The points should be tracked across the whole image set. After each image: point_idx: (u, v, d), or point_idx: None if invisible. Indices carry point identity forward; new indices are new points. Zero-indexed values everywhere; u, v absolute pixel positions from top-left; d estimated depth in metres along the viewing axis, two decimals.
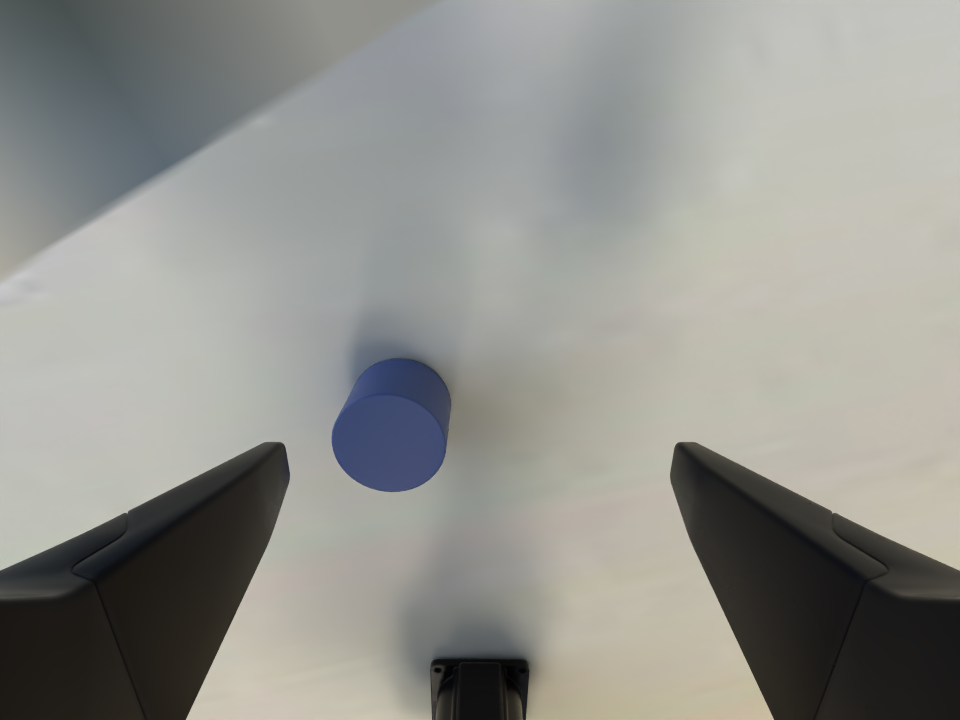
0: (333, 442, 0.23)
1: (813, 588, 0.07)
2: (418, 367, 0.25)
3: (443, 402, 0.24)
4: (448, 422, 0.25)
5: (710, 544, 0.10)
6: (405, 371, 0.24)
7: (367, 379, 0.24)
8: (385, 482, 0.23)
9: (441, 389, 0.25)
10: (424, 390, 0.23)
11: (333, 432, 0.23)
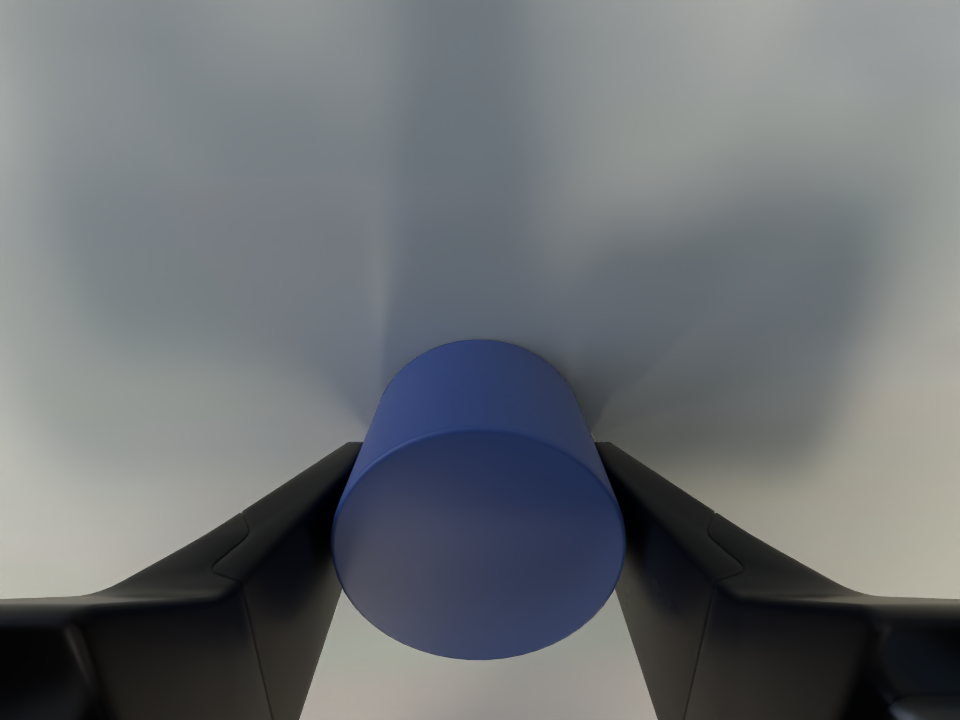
0: (336, 530, 0.09)
1: (681, 588, 0.07)
2: (545, 368, 0.11)
3: None
4: None
5: None
6: (527, 372, 0.10)
7: (438, 377, 0.10)
8: (444, 637, 0.09)
9: None
10: (579, 428, 0.09)
11: (341, 506, 0.08)
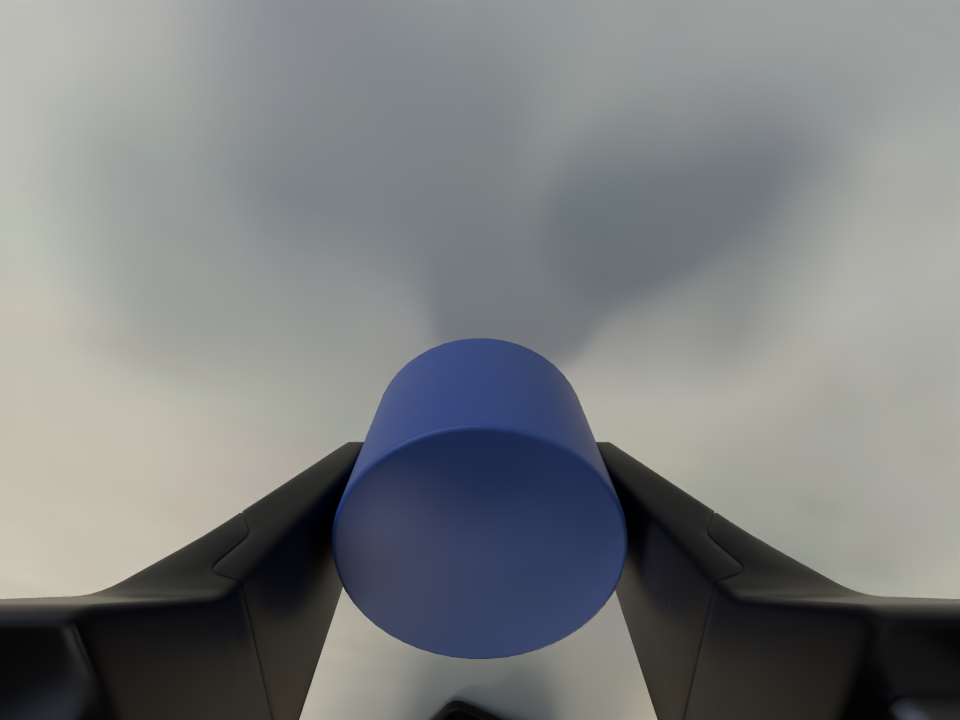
0: (337, 528, 0.09)
1: (680, 588, 0.07)
2: (546, 366, 0.11)
3: None
4: None
5: None
6: (528, 371, 0.10)
7: (439, 376, 0.10)
8: (445, 636, 0.09)
9: None
10: (581, 426, 0.09)
11: (343, 504, 0.08)
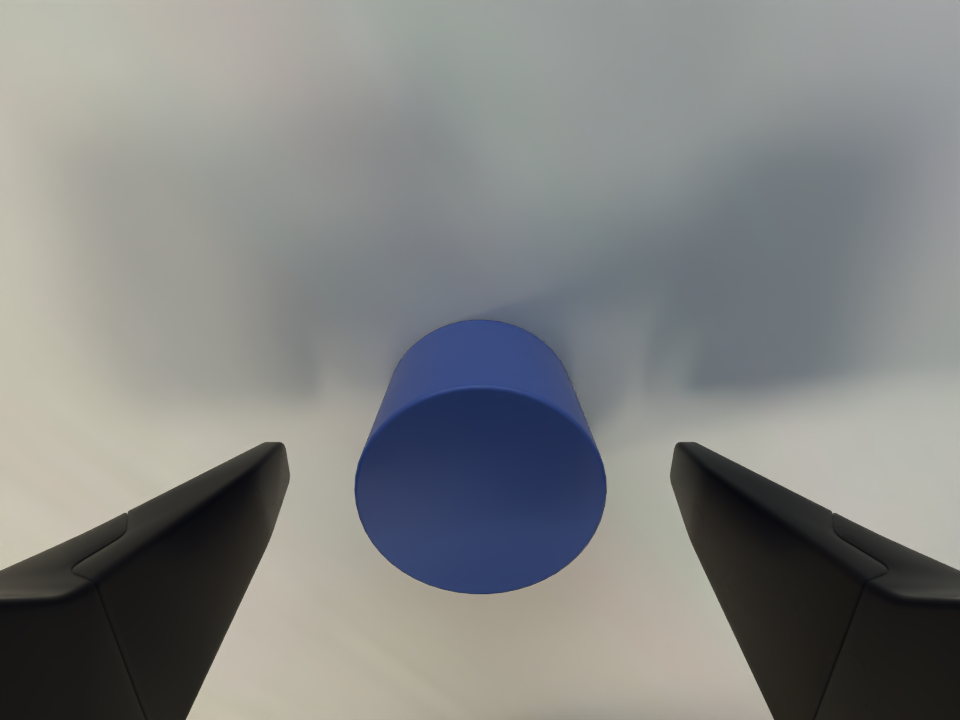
0: (359, 476, 0.10)
1: (813, 588, 0.07)
2: (538, 344, 0.13)
3: None
4: None
5: (710, 544, 0.10)
6: (522, 346, 0.12)
7: (445, 350, 0.11)
8: (451, 573, 0.11)
9: None
10: (567, 392, 0.11)
11: (365, 454, 0.10)
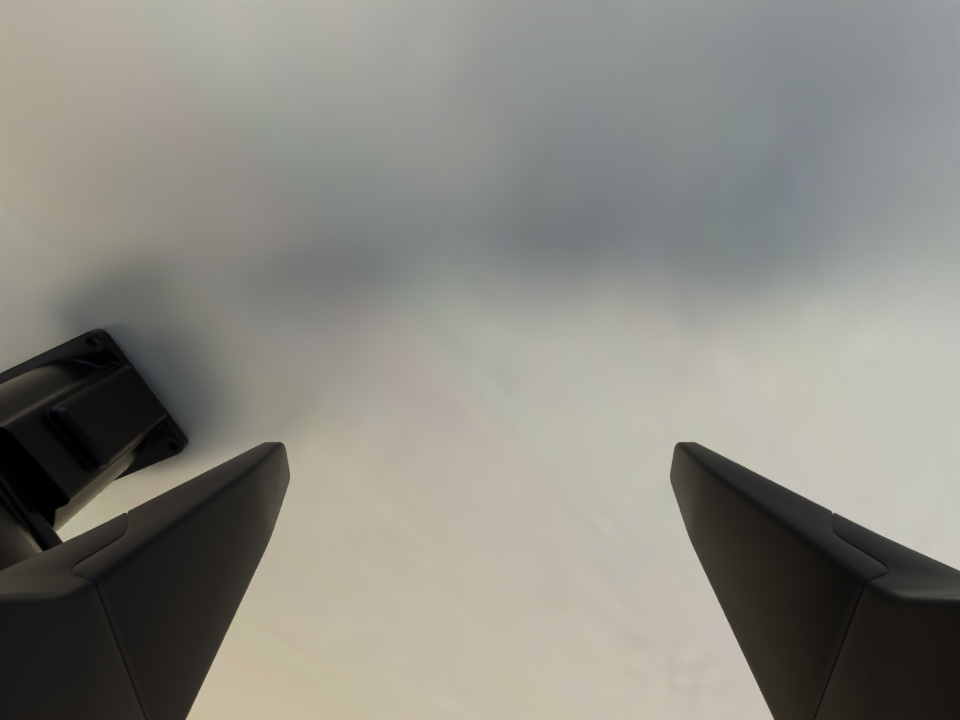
0: None
1: (813, 587, 0.07)
2: None
3: None
4: None
5: (710, 544, 0.10)
6: None
7: None
8: None
9: None
10: None
11: None
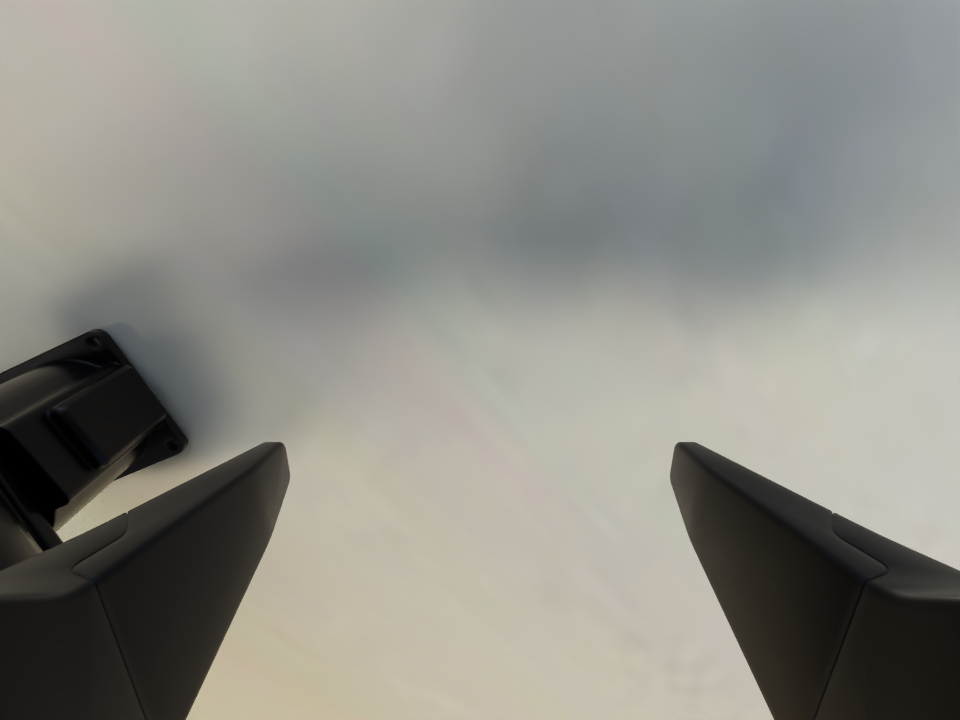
0: None
1: (813, 587, 0.07)
2: None
3: None
4: None
5: (710, 544, 0.10)
6: None
7: None
8: None
9: None
10: None
11: None
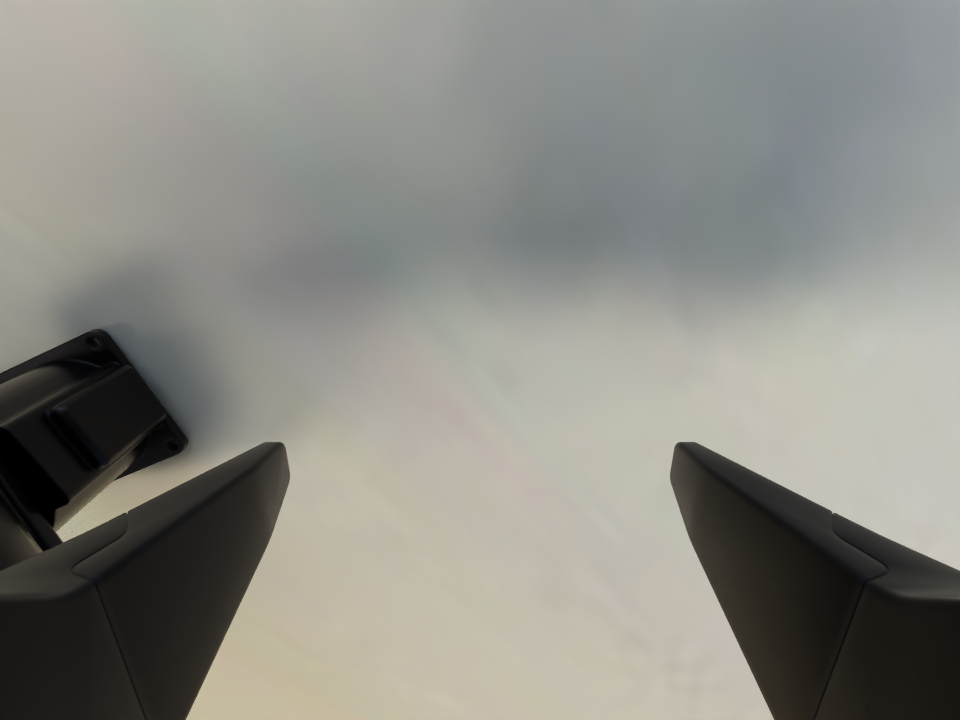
0: None
1: (813, 587, 0.07)
2: None
3: None
4: None
5: (710, 544, 0.10)
6: None
7: None
8: None
9: None
10: None
11: None
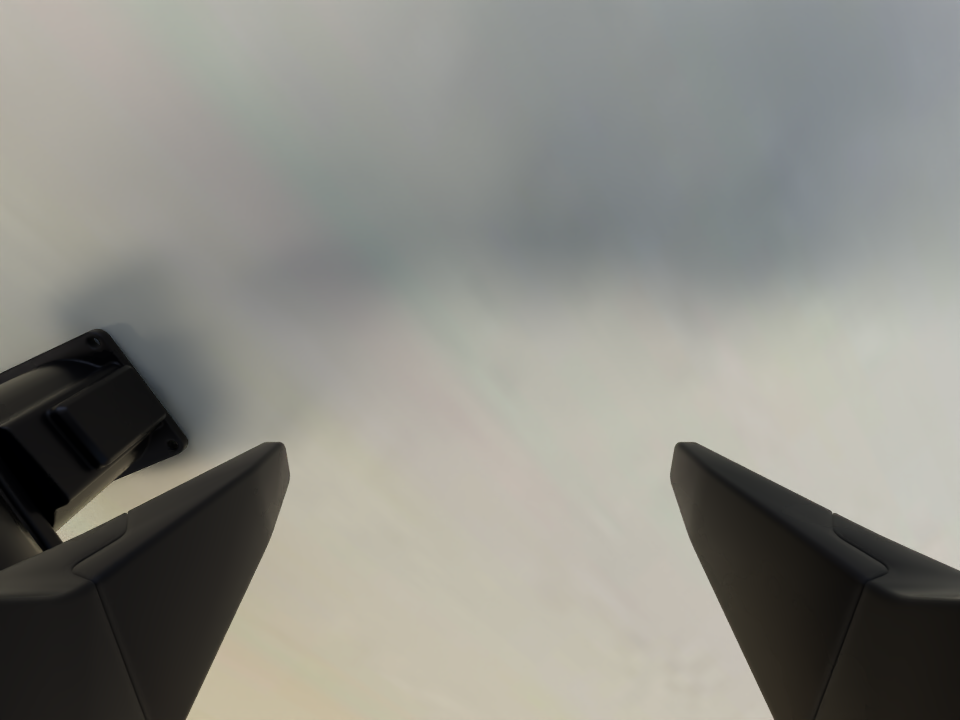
0: None
1: (813, 587, 0.07)
2: None
3: None
4: None
5: (710, 544, 0.10)
6: None
7: None
8: None
9: None
10: None
11: None
